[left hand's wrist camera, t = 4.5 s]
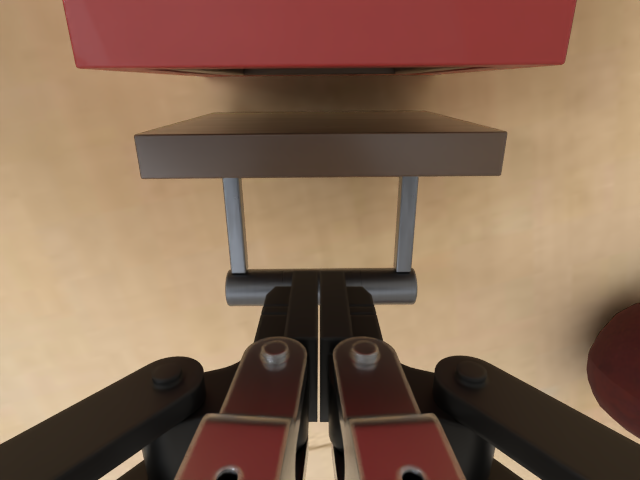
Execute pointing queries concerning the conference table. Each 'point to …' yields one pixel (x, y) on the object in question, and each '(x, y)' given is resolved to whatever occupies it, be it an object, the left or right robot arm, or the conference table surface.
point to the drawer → (320, 168)
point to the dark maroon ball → (618, 368)
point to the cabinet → (317, 34)
